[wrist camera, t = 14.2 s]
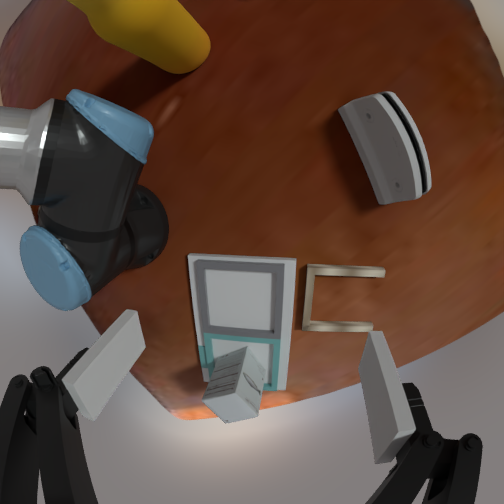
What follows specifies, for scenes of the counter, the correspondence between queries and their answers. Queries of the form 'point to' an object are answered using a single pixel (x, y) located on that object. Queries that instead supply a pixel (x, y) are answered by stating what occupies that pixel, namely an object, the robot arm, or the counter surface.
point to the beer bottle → (150, 31)
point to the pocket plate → (244, 310)
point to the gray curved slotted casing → (388, 147)
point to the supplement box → (235, 386)
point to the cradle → (335, 271)
